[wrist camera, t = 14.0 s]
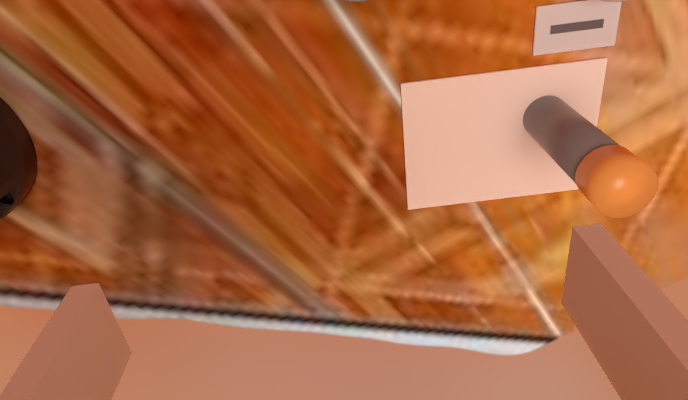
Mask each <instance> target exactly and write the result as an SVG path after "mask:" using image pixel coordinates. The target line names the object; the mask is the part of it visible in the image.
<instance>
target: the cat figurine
mask: <svg viewBox="0 0 688 400" xmlns="http://www.w3.org/2000/svg"><path fill="white" fill-rule="evenodd" d="M602 1H605V2H611V3H616V2H623V1H627V0H602Z"/></svg>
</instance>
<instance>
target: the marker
mask: <svg viewBox="0 0 688 400" xmlns="http://www.w3.org/2000/svg"><path fill="white" fill-rule="evenodd" d="M523 126H524V128H525V130H526V131H527V132H528V133H529V134H530V135H531V137H532V138H533V139H534V140H535V141H536V142H537V143H538V144H539V145H540V146H541V147H542V148H543V149H544V150H545V151H546V153H547V154H548V155H549V156H550V157H551V158H552V159H553V160H554V161H555V162H556V163H557V164H558V165H559V166H560V167H561V169H562V170H563V171H564V172H565V173H566V174H567V175H568V176H569V177H570V178H571V179H572V180H573V181H574V182H575V184H576V185H577V187H578V189H579V190H580V191H581V192H582V193H583V194H584V195H585V196H586V197H587V199H588V200H589V201H590V202H591V203H592V204H593V205H594V206H595V207H596V208H597V209H598V210H599V211H600V212H601V213H602V214H603V215H605V216H608V217H611V218H623V217H627V216H631V215H633V214H635V213H637V212H639V211H640V210H642V209H643V208H645V207H646V206H647V205H648V204H649V203H650V202H651V200H652V199H653V198H654V196H655V194H656V192H657V189H658V176H657V174H656V172H655V171H654V170H653V169H652V168H651V167H649V166H648V165H647V164H646V163H644V162H643V161H642V160H640V159H639V158H638V157H637V156H635V155H634V154H633V153H631V152H630V151H629V150H628V149H626V148H624V147H622V146H620V145H619V144H617V143H616V142H615V141H614V140H612V139H611V138H610V137H609V136H607V135H606V134H605V133H603V132H602V131H601V130H600V129H598V128H597V127H596V126H594V125H593V124H592V123H591V122H589V121H588V120H587V119H586V118H584V117H583V116H582V115H580V114H579V113H578V112H577V111H575V110H574V109H573V108H572V107H570V106H569V105H568V104H566V103H565V102H564V101H563V100H561V99H560V98H558V97H556V96H551V95H548V96H543V97H540V98H538V99H536V100H534V101H533V102H532V103H531V104H530V105H529V106H528V107H527V109H526V111H525V113H524V116H523Z"/></svg>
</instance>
